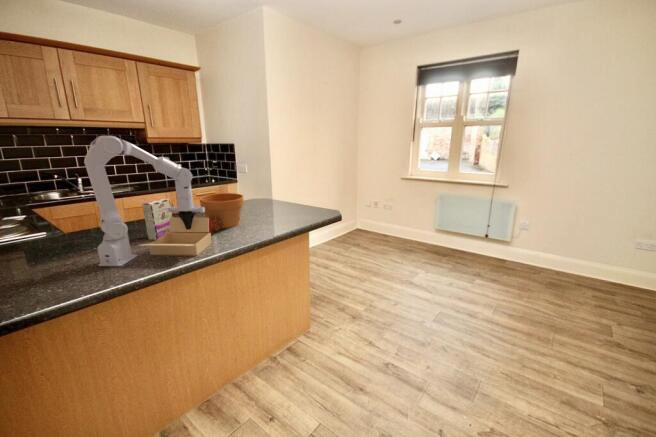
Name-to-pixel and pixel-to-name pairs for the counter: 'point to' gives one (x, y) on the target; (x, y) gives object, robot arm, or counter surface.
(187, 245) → the near flap
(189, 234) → the carton
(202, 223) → the far flap
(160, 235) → the candy bar box
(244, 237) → the counter surface
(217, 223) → the dragon fruit
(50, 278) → the counter surface
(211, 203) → the flower pot
